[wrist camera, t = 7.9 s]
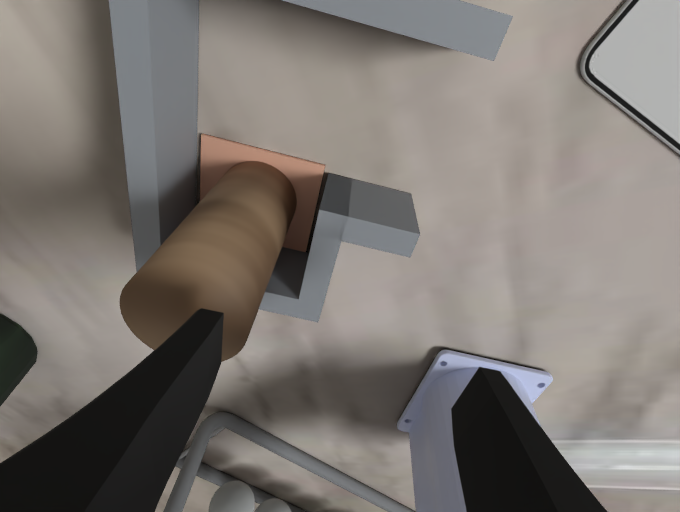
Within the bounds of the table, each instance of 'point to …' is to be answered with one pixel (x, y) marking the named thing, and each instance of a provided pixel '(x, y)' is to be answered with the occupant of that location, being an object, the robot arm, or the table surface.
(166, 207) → the channel
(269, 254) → the peg
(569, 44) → the table surface
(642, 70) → the smartphone
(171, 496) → the newton's cradle
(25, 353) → the potion bottle
